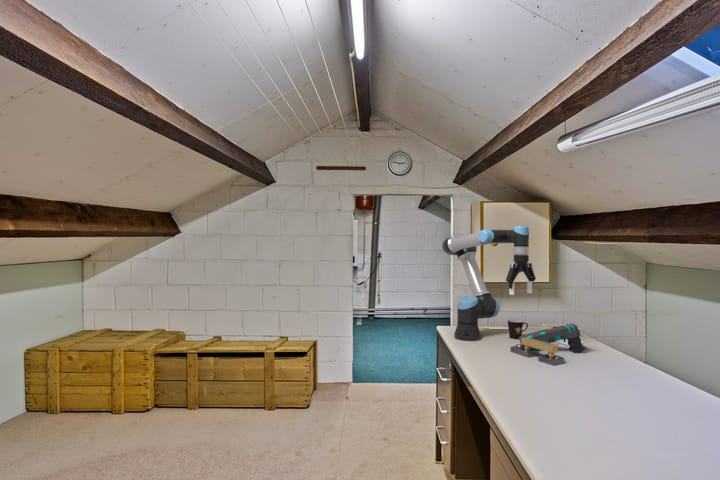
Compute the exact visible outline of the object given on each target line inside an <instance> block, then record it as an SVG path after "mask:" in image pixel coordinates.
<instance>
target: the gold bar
mask: <svg viewBox="0 0 720 480" xmlns="http://www.w3.org/2000/svg"><path fill="white" fill-rule="evenodd" d="M520 344H523V345H524V350H526V351H530V347H532V348H533V349H537V350H539V351H544V352H547V354H548V357H549V358H554V355H555V353H558V352H559V346H558V345H557V344H552V343H546V342H542V341H539V340H535V339H531V338H528V337H525V338H521V343H520Z"/></svg>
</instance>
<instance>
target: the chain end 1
mask: <svg viewBox="0 0 720 480" xmlns="http://www.w3.org/2000/svg"><path fill="white" fill-rule="evenodd" d="M509 352H511V353H513V354H517V355H519V356H523V357H526V358H532V357H538V356H539V355H540V349H537V348H533V347H532V348H530V351H526V350H524V346H523V345H521V343H519V344H518V343H517V344H516V345H513V346H510V350H509Z"/></svg>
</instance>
